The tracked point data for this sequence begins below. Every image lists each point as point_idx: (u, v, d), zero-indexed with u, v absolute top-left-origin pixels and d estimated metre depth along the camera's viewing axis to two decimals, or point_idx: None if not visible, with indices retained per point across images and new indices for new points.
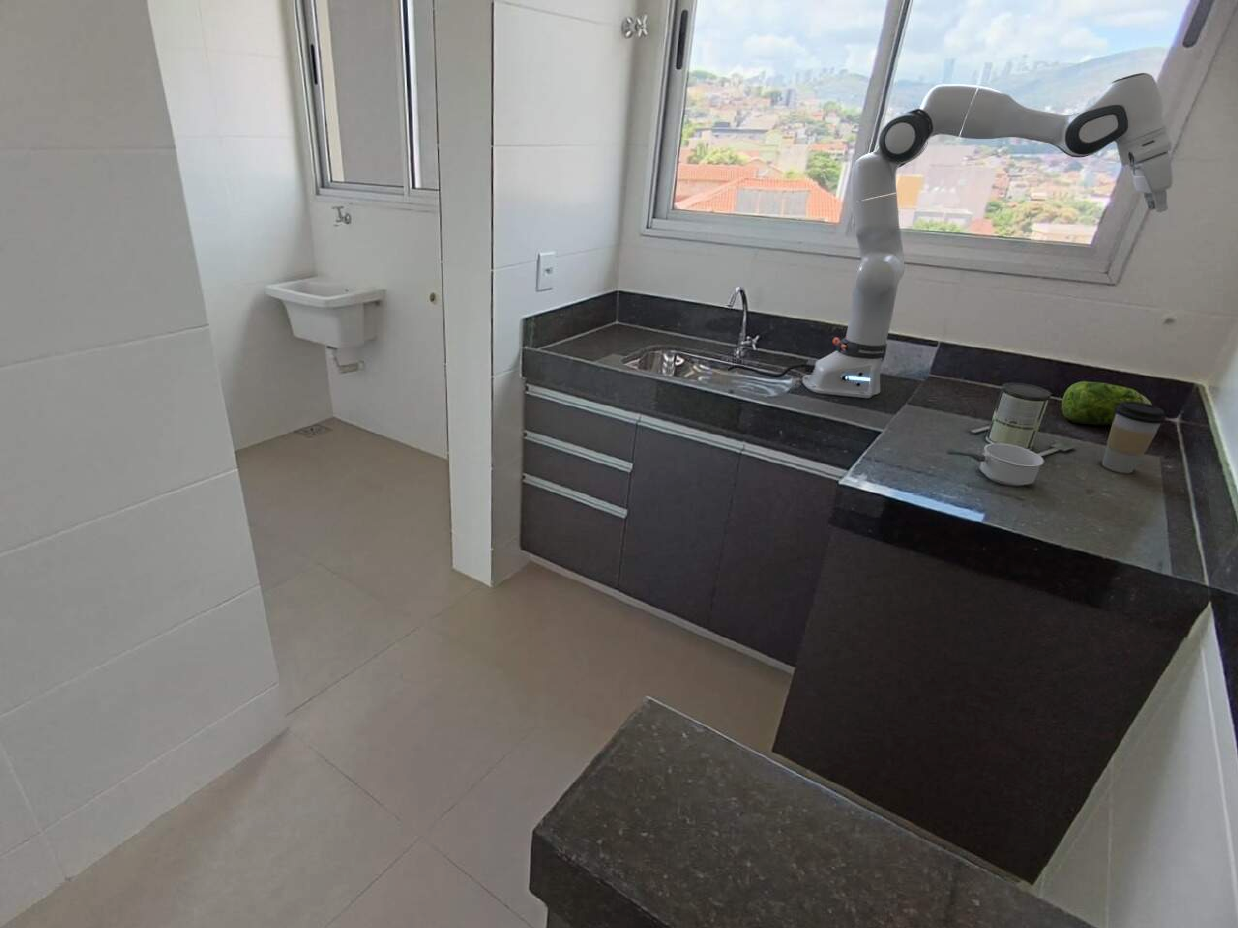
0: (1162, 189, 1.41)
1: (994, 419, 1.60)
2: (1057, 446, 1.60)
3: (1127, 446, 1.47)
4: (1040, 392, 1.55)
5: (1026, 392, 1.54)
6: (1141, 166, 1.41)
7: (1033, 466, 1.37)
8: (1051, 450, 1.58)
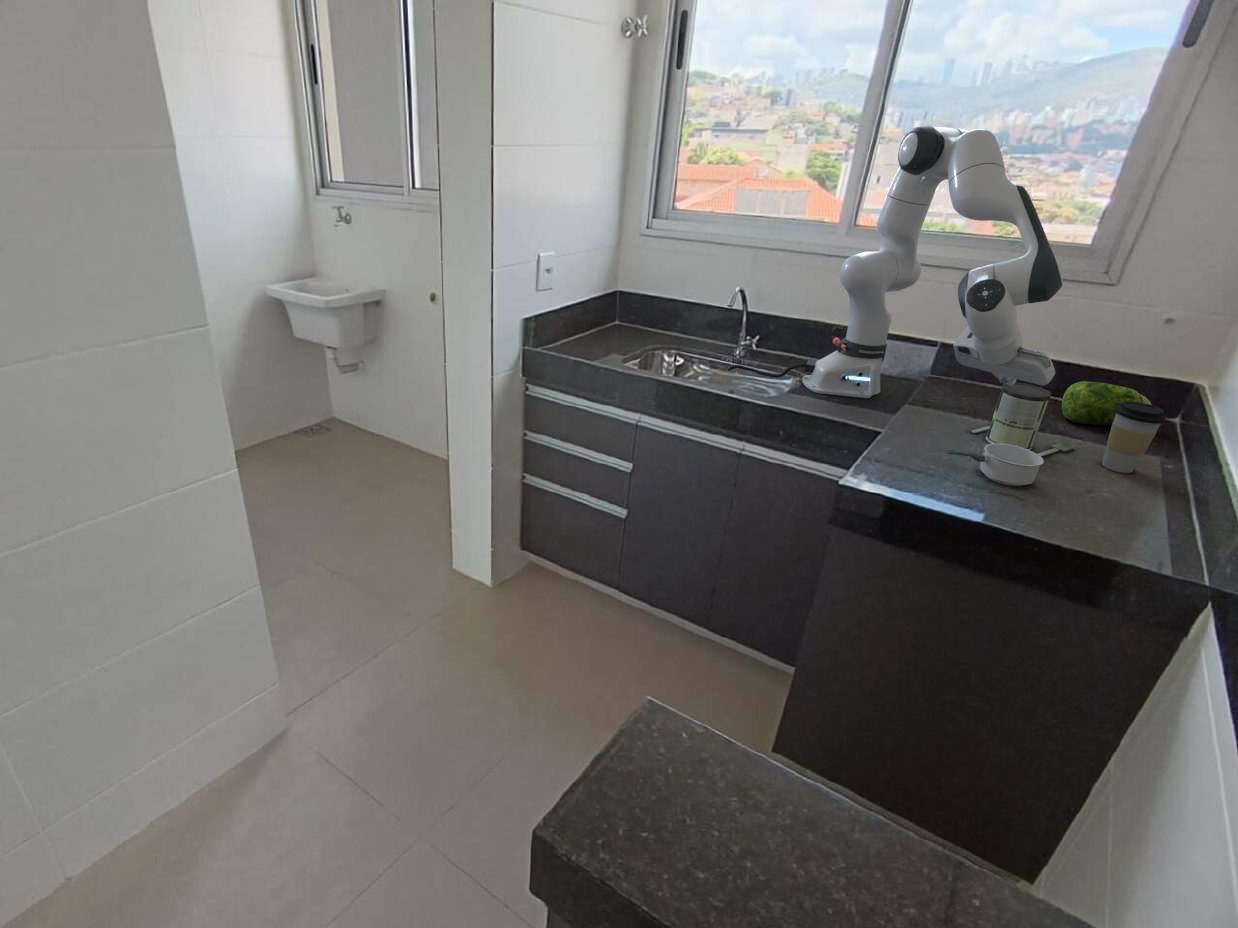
0: None
1: (994, 419, 1.60)
2: (1057, 446, 1.60)
3: (1127, 446, 1.47)
4: (1040, 392, 1.55)
5: (1026, 392, 1.54)
6: None
7: (1033, 466, 1.37)
8: (1051, 450, 1.58)
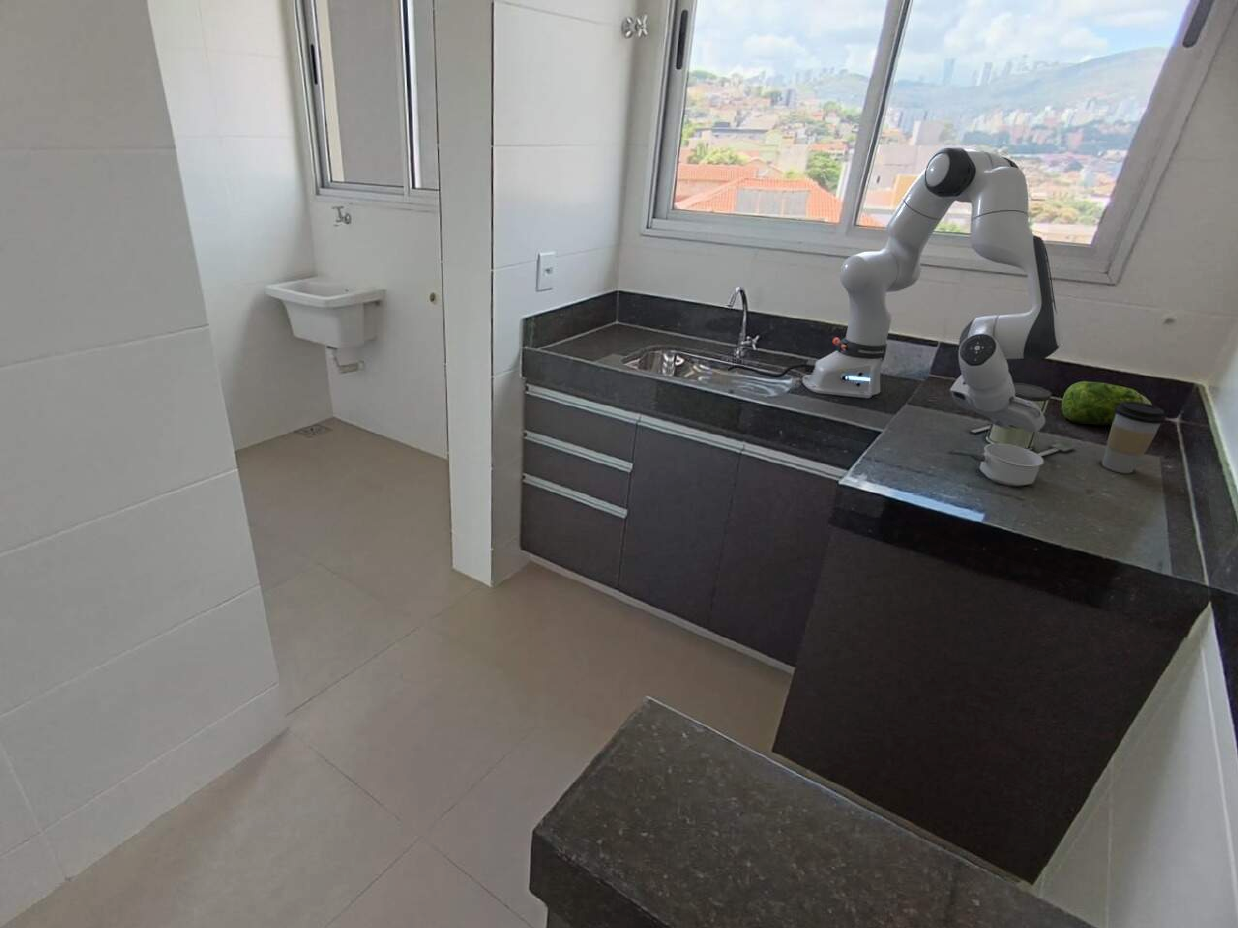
0: None
1: None
2: (1057, 446, 1.60)
3: (1127, 446, 1.47)
4: (1040, 392, 1.55)
5: (1026, 392, 1.54)
6: None
7: (1033, 466, 1.37)
8: (1051, 450, 1.58)
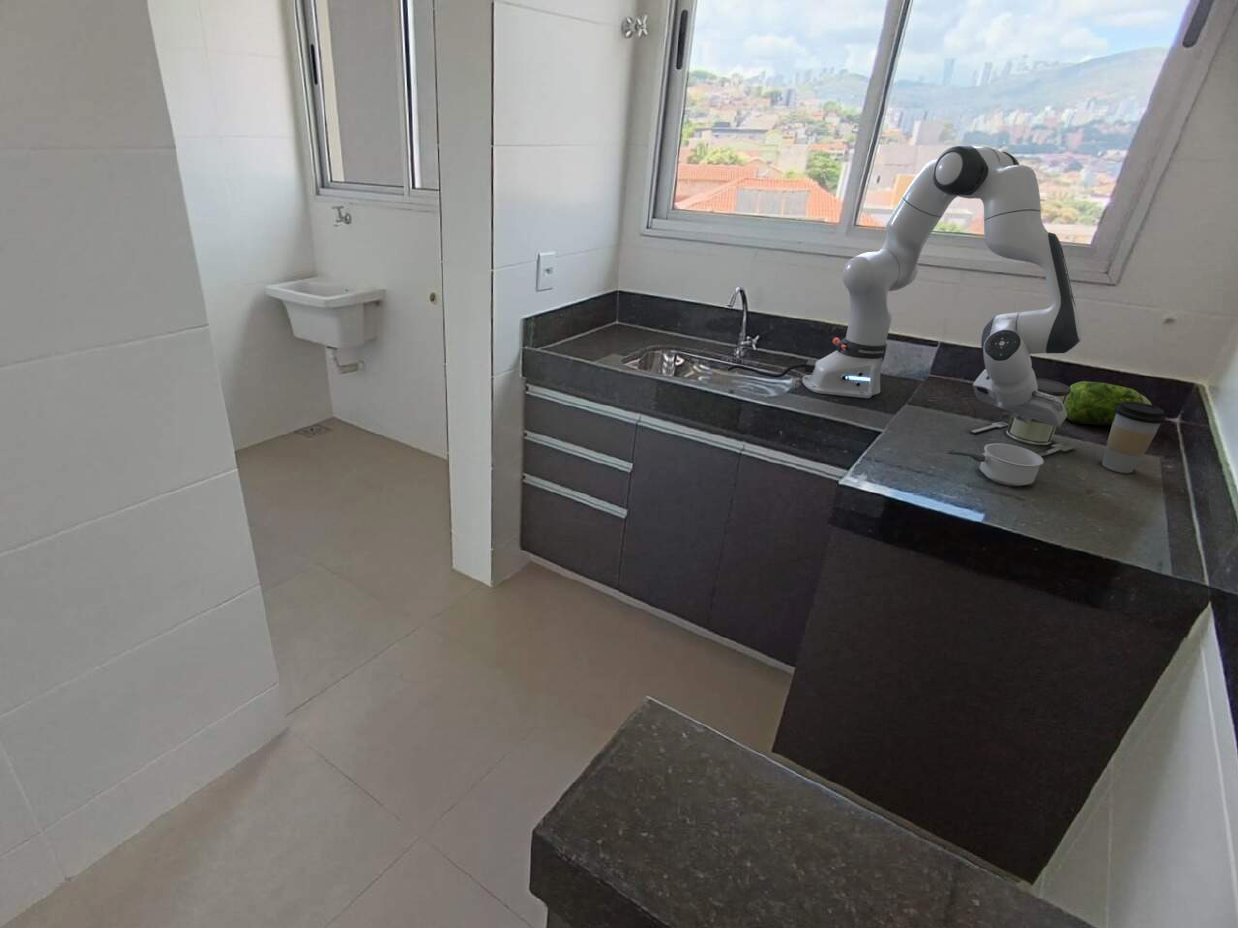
0: None
1: None
2: (1057, 446, 1.60)
3: (1127, 446, 1.47)
4: (1060, 387, 1.59)
5: (1047, 387, 1.58)
6: None
7: (1033, 466, 1.37)
8: (1051, 450, 1.58)
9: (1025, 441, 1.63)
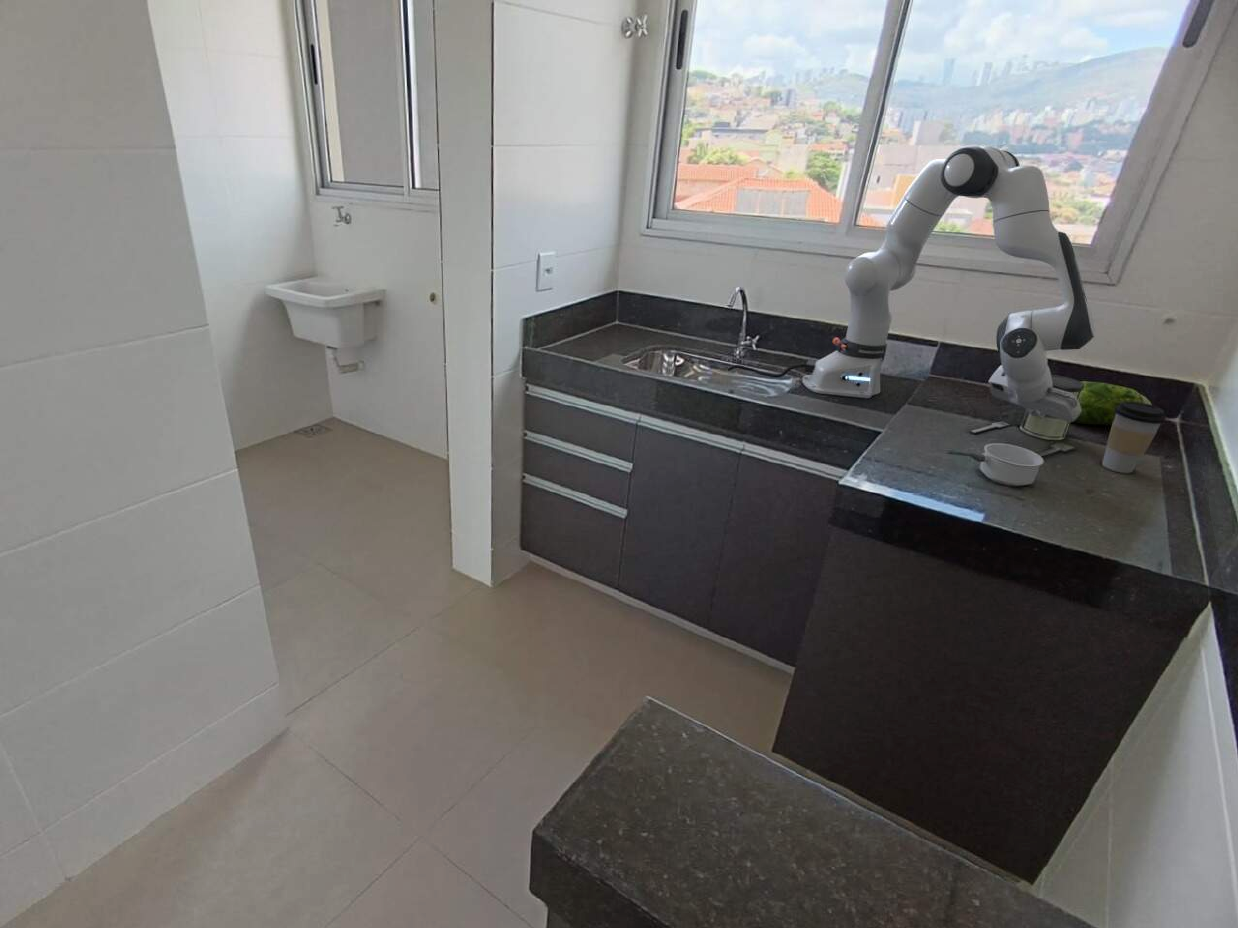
0: None
1: None
2: (1057, 446, 1.60)
3: (1127, 446, 1.47)
4: (1073, 383, 1.63)
5: (1061, 384, 1.62)
6: None
7: (1033, 466, 1.37)
8: (1051, 450, 1.58)
9: (1040, 436, 1.66)
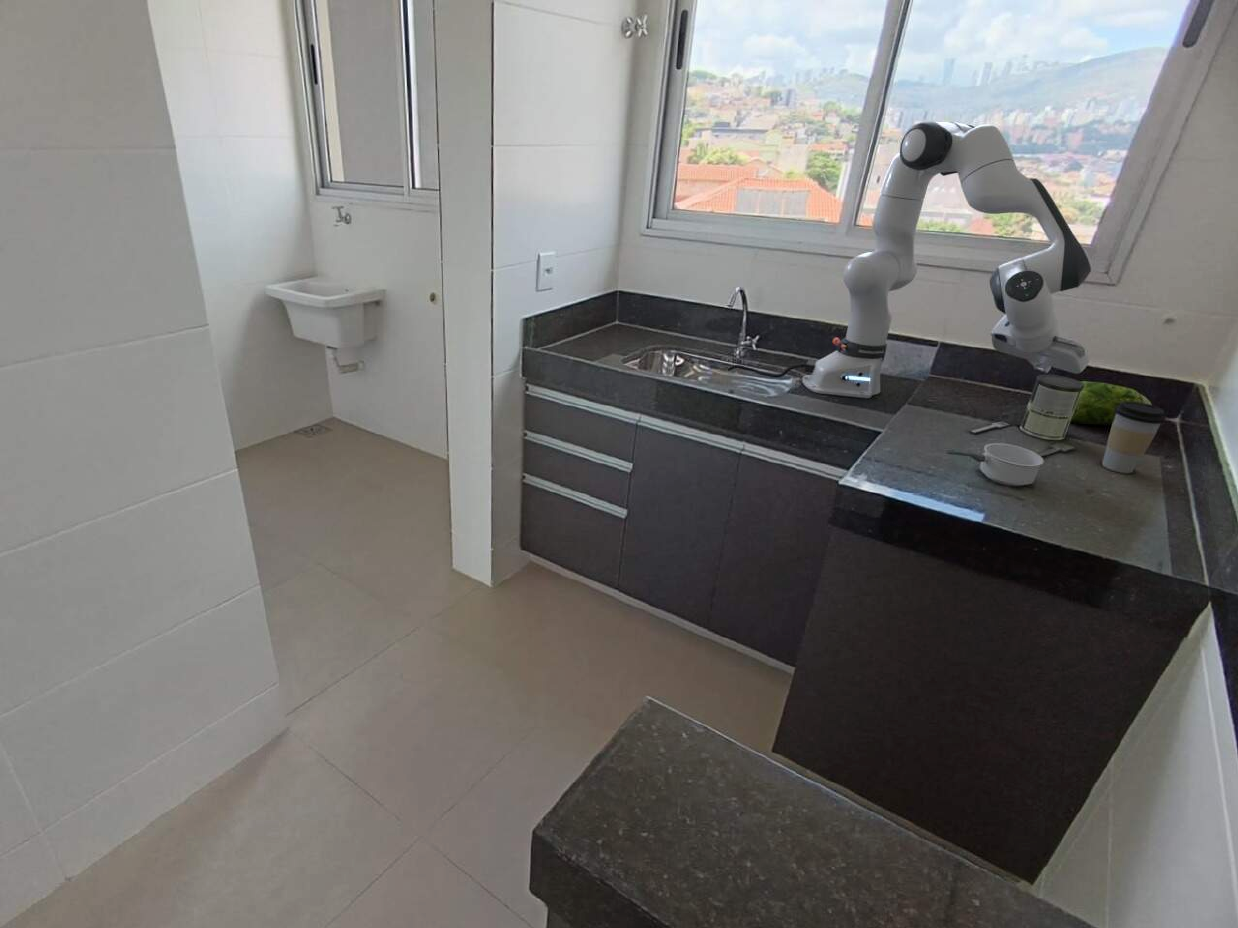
0: None
1: (1029, 410, 1.67)
2: (1057, 446, 1.60)
3: (1127, 446, 1.47)
4: (1073, 383, 1.63)
5: (1061, 384, 1.62)
6: None
7: (1033, 466, 1.37)
8: (1051, 450, 1.58)
9: (1040, 436, 1.66)
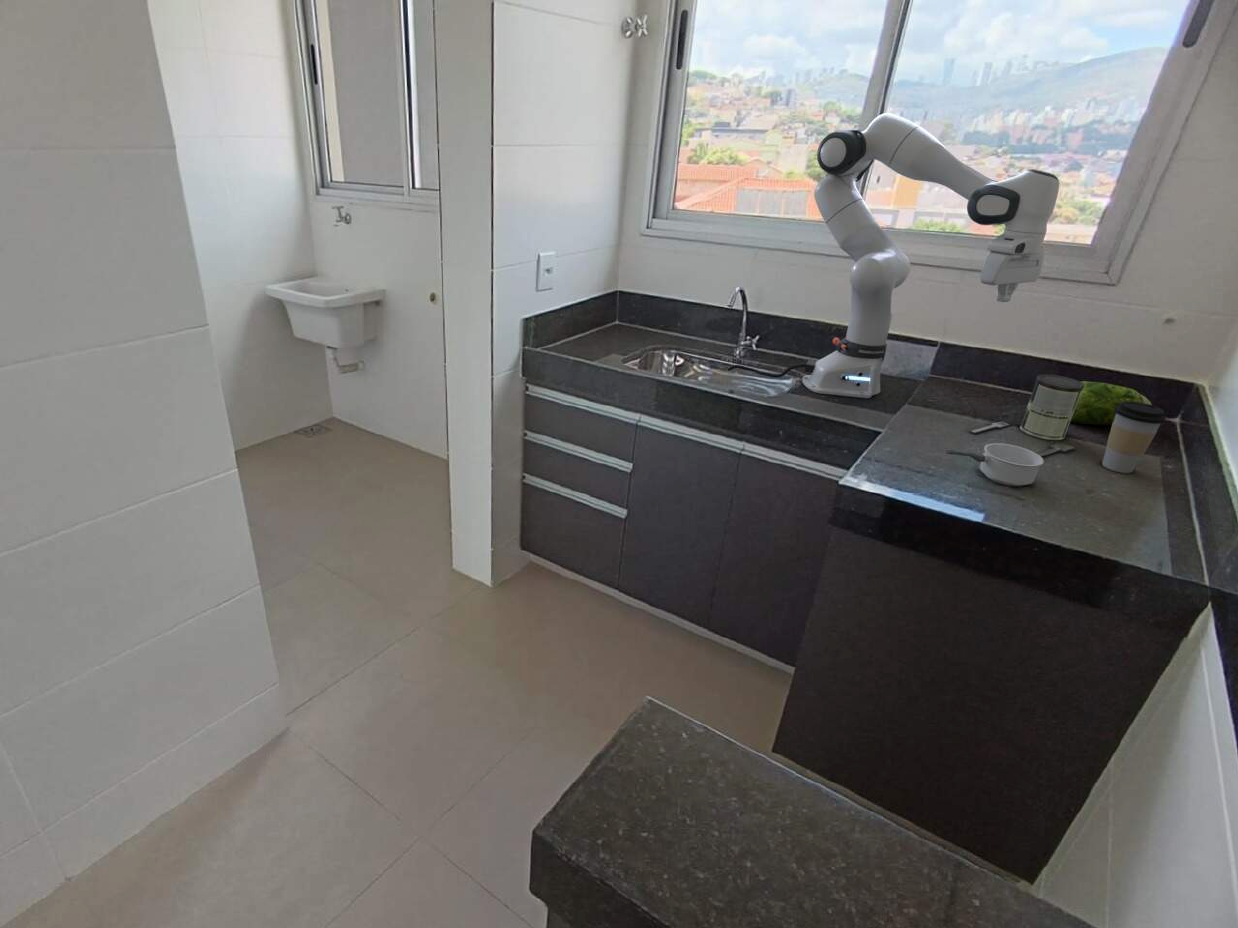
0: (986, 282, 1.58)
1: (1029, 410, 1.67)
2: (1057, 446, 1.60)
3: (1127, 446, 1.47)
4: (1073, 383, 1.63)
5: (1061, 384, 1.62)
6: (987, 255, 1.57)
7: (1033, 466, 1.37)
8: (1051, 450, 1.58)
9: (1040, 436, 1.66)
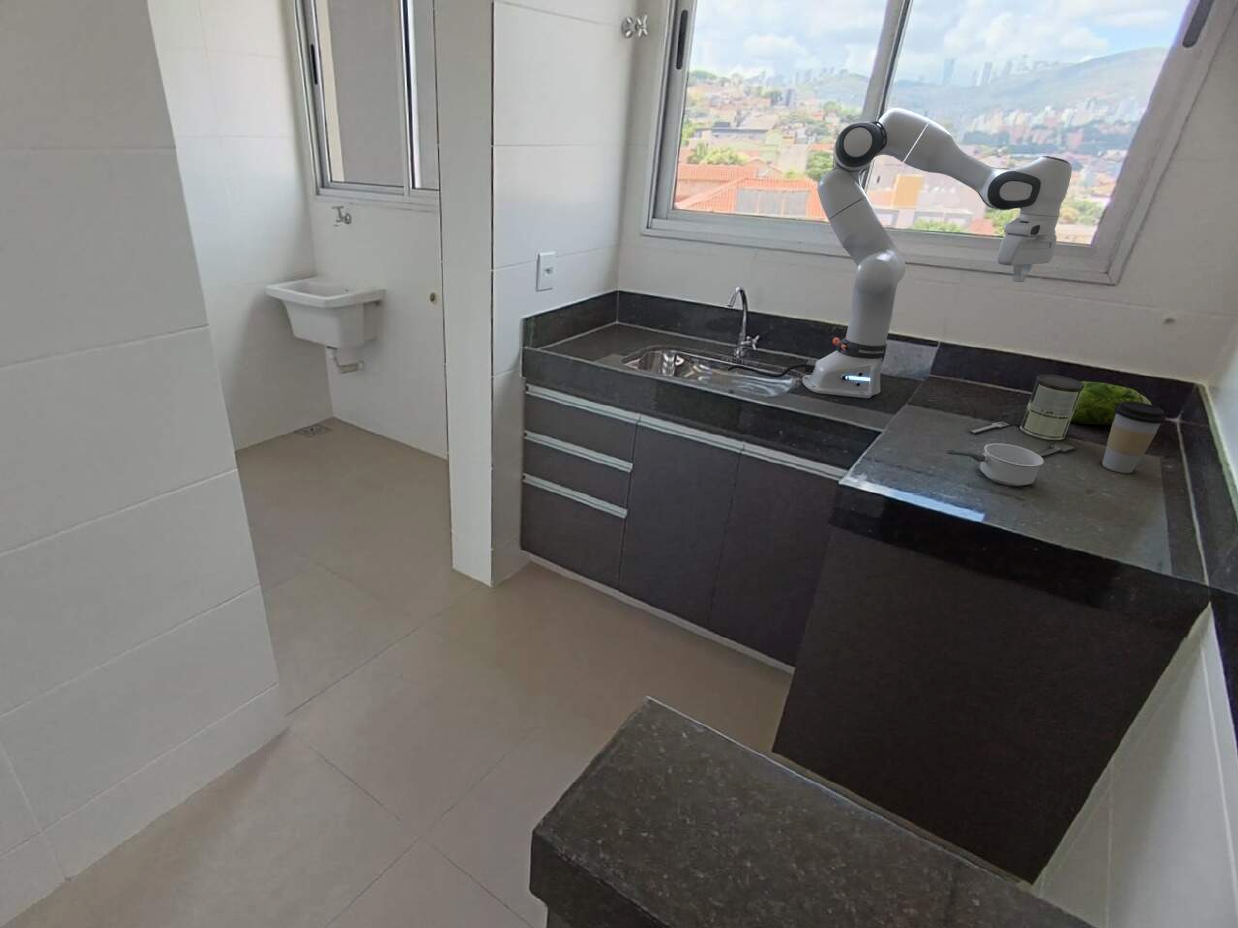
0: (1003, 263, 1.67)
1: (1029, 410, 1.67)
2: (1057, 446, 1.60)
3: (1127, 446, 1.47)
4: (1073, 383, 1.63)
5: (1061, 384, 1.62)
6: (1003, 237, 1.67)
7: (1033, 466, 1.37)
8: (1051, 450, 1.58)
9: (1040, 436, 1.66)
